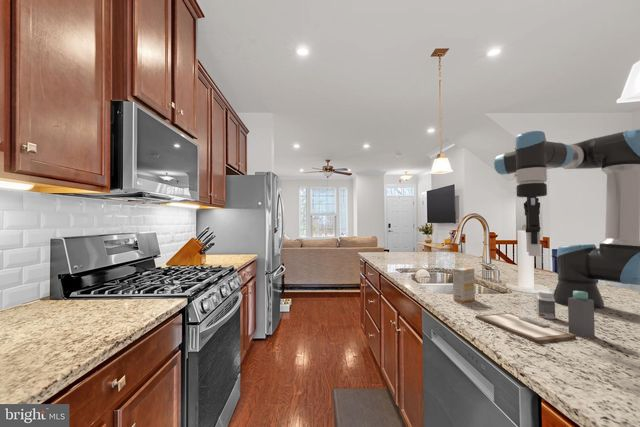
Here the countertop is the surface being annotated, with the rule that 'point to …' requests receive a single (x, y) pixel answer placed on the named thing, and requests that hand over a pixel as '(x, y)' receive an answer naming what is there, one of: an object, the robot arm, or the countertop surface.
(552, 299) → the pill bottle
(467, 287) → the supplement box
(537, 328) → the brown rectangular tray
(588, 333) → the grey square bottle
